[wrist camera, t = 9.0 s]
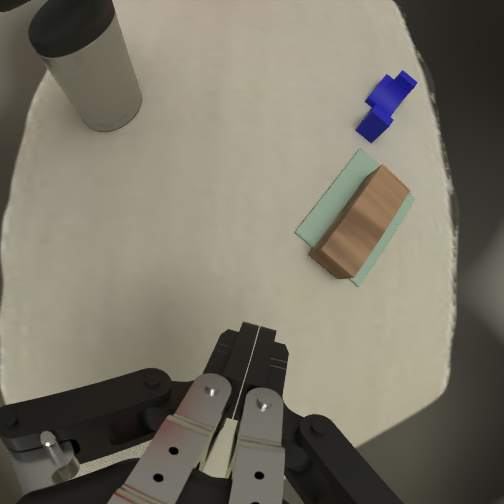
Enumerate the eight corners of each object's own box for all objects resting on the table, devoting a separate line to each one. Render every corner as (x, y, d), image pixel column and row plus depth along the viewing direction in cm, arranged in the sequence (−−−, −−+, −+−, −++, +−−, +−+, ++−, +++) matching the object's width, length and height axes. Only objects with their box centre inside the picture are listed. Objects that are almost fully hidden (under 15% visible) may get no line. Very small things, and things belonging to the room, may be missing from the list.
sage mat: (357, 286, 41) (359, 286, 40) (294, 232, 40) (295, 231, 40) (413, 199, 43) (414, 199, 43) (358, 149, 43) (360, 148, 42)
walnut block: (354, 277, 35) (410, 190, 37) (321, 249, 35) (382, 164, 37) (338, 279, 40) (391, 200, 42) (308, 254, 40) (365, 176, 42)
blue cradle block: (379, 83, 45) (394, 63, 39) (400, 100, 45) (417, 82, 39) (347, 124, 43) (363, 104, 37) (370, 143, 44) (389, 126, 38)
